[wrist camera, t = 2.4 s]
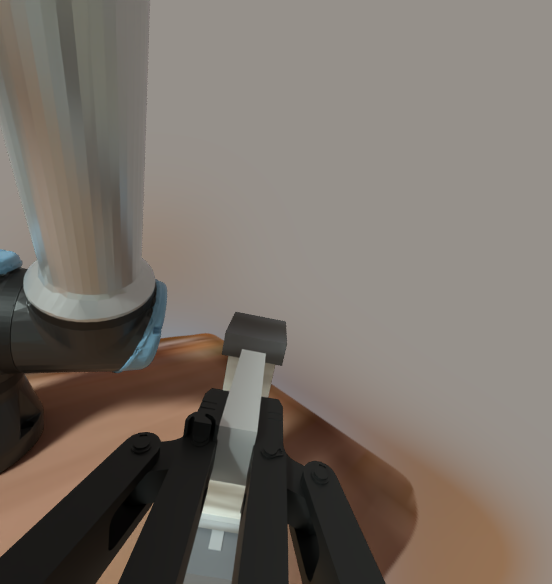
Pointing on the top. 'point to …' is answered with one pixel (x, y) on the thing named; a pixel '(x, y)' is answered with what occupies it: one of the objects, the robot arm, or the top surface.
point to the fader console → (212, 557)
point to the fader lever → (240, 335)
